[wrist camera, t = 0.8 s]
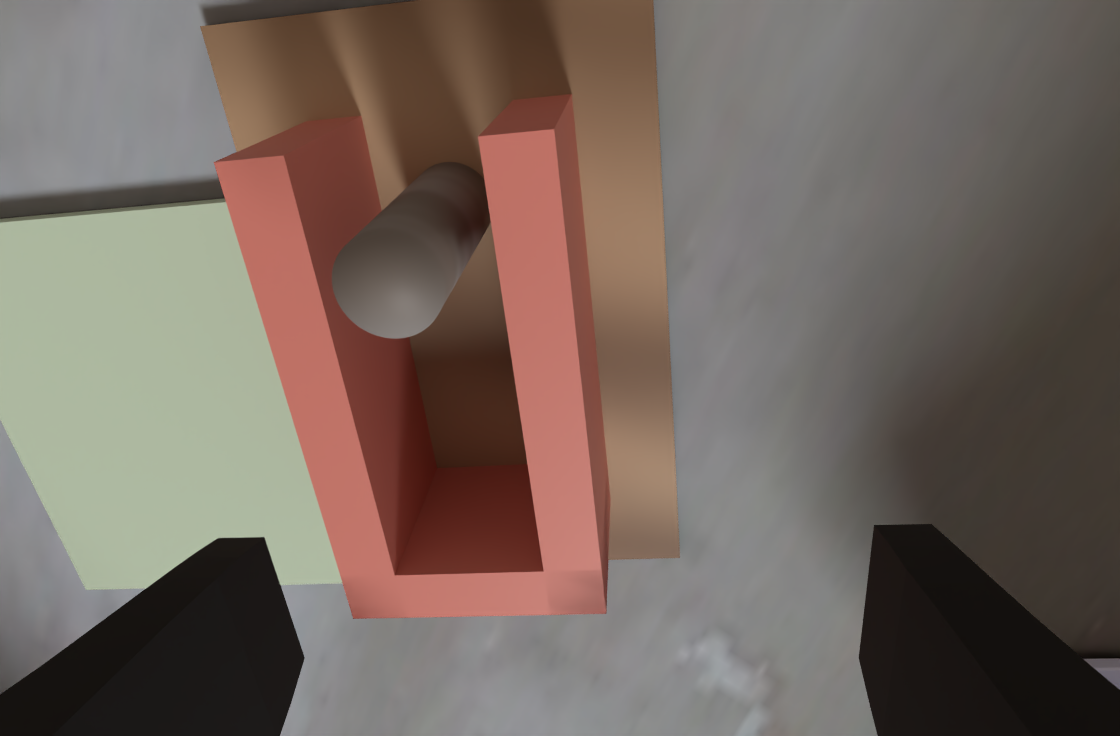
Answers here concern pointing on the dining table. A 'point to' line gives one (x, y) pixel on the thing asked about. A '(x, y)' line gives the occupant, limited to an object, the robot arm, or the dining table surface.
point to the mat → (150, 394)
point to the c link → (393, 389)
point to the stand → (487, 207)
